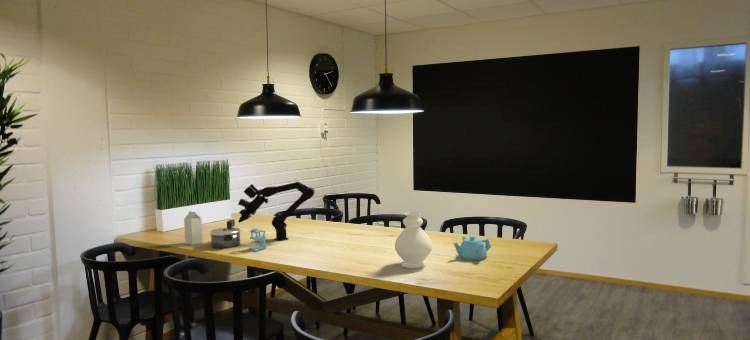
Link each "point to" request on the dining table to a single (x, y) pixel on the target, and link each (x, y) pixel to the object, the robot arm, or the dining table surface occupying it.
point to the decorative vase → (413, 242)
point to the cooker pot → (225, 241)
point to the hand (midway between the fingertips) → (238, 222)
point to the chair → (259, 238)
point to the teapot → (472, 248)
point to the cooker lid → (226, 230)
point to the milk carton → (193, 229)
